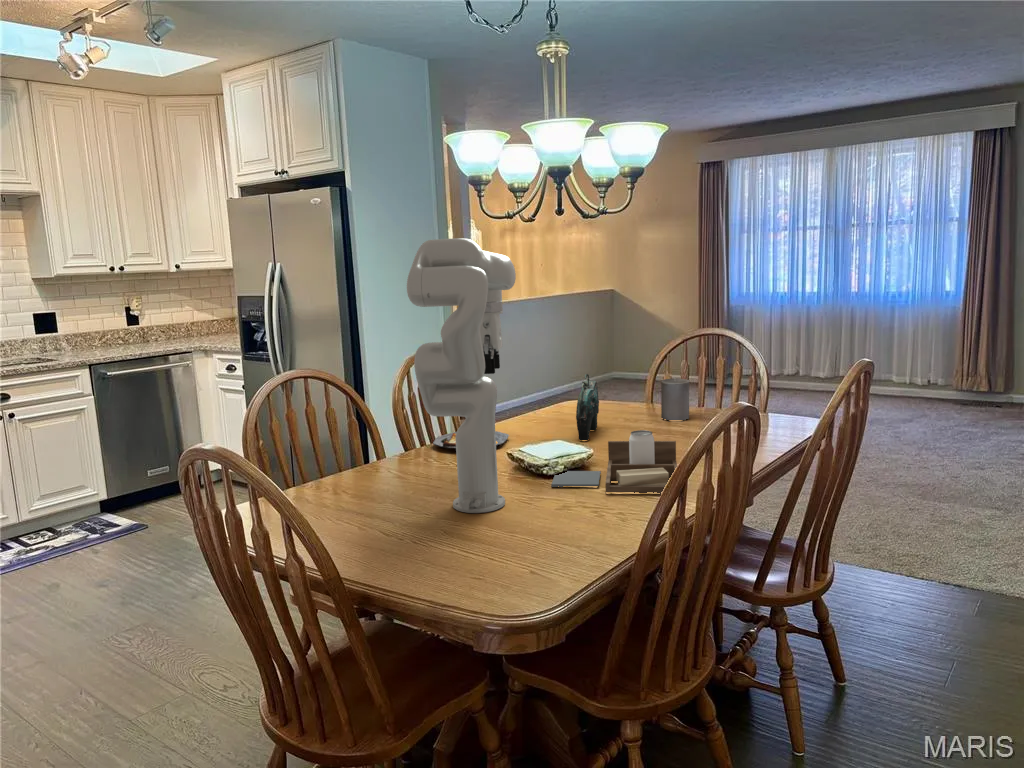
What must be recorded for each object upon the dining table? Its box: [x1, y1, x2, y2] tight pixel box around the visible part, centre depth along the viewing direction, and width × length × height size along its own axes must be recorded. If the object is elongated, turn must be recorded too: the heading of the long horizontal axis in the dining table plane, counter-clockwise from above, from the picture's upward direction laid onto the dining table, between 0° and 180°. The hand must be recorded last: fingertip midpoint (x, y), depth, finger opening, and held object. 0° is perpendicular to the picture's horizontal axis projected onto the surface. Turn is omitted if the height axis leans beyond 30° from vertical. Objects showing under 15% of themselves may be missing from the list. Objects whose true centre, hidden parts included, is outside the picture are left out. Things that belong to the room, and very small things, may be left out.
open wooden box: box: [605, 440, 678, 494], centre depth 194 cm, size 22×18×8 cm
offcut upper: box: [616, 468, 669, 486], centre depth 189 cm, size 5×12×2 cm, turn 94°
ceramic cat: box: [575, 373, 600, 441], centre depth 247 cm, size 20×6×20 cm, turn 164°
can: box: [628, 429, 655, 464], centre depth 198 cm, size 6×6×12 cm
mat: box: [551, 470, 602, 487], centre depth 198 cm, size 12×12×1 cm
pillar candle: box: [660, 377, 690, 421], centre depth 265 cm, size 10×10×15 cm
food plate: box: [432, 430, 510, 449], centre depth 243 cm, size 25×23×4 cm
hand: (491, 371), depth 207 cm, fingers open, 9 cm apart
